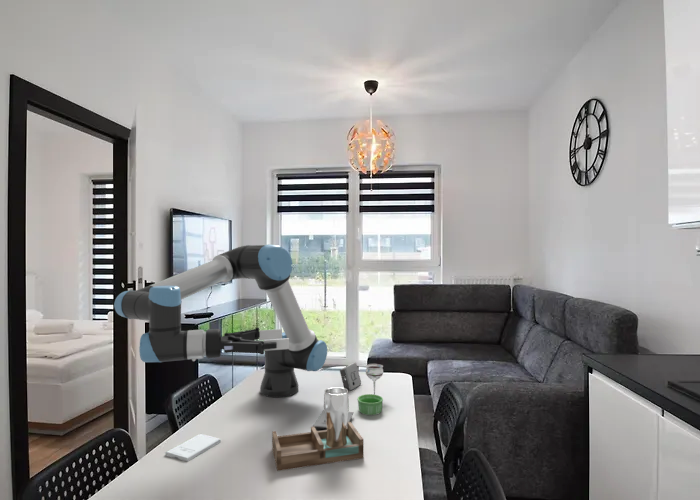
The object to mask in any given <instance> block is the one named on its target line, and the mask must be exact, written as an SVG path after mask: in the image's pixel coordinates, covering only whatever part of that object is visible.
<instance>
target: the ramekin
mask: <svg viewBox="0 0 700 500" xmlns="http://www.w3.org/2000/svg"><path fill="white" fill-rule="evenodd" d="M356 400H357V404H358V410H359V411H358V412H359V413H361V414H363V415H367V416H374V415H375V416H376V415H378V414H380V413H381V412H382V409H383V402H384V398H383V397H382V396H380V395H378V394H375V395H374V393H372V394H370V393H369V394H368V393H367V394H362V395H359V396H357V399H356Z"/></svg>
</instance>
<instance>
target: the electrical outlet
mask: <svg viewBox="0 0 700 500" xmlns="http://www.w3.org/2000/svg"><path fill="white" fill-rule="evenodd" d="M353 415H354V411H349V412H348V419H347V422H351V419H352V418H353ZM313 426H314V427H315V429H322V430H327V427H326V421H325V415H324V409H323V410H322V411H321V412H320V414H319V416H318V417H317V418H316V420H315V421H314V423H313V425H312V427H313ZM346 427H347V425H346Z"/></svg>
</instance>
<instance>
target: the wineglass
mask: <svg viewBox="0 0 700 500" xmlns="http://www.w3.org/2000/svg"><path fill="white" fill-rule="evenodd" d="M383 367H384V365H383V364H379V363H369V364H366V365H365V368H366V369H365V375H366V376H367V377H368V379H370V380H371V381H372V382H373V383H372V384H373V394H374V395H376V382H377V380H379V379H381V378H382V376H383V375H384V369H383Z"/></svg>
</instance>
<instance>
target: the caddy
mask: <svg viewBox="0 0 700 500" xmlns="http://www.w3.org/2000/svg"><path fill="white" fill-rule="evenodd" d="M271 437H272V441H271V442H272V443H271V448H272V449H271V450H272V455H273V458H274V462H275V463H274V464H275V468H276V471H277V472H280V471H286V470H287V471H288V470H293V469H299V468H306V467H313V466H318V465H319V466H320V465H326V464H333V463H338V462H345V461H352V460H358V459H364V457H365V456H364V438H363V436H362V435H361V434H360V433H359V431H358V430H357V429H356V427H355V426H354V424H353V423H352V422H351V421H350V422H347V427H346V439H347V445H346V446H339V447H332V448H327V447H326V445H325V443H326V437H327V429H322V430H317V428H315V427H314V426H313V425H312V426H311V427H310V431H309V432H299V433H292V434H284V435H278V434H277V431H276V430H273V431H272V434H271Z"/></svg>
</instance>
